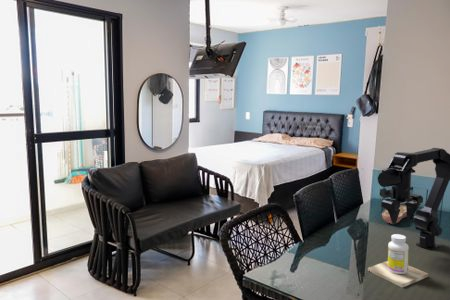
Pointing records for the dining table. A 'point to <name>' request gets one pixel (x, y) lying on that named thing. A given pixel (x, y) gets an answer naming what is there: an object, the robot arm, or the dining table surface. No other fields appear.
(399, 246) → the supplement bottle
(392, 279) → the birch board
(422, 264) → the dining table surface
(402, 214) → the anatomical model
